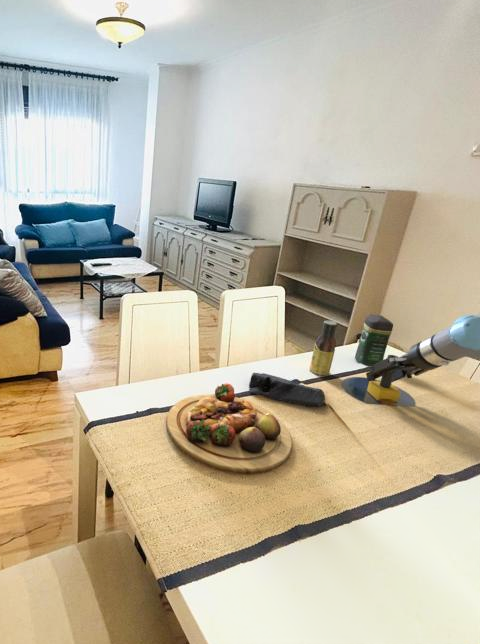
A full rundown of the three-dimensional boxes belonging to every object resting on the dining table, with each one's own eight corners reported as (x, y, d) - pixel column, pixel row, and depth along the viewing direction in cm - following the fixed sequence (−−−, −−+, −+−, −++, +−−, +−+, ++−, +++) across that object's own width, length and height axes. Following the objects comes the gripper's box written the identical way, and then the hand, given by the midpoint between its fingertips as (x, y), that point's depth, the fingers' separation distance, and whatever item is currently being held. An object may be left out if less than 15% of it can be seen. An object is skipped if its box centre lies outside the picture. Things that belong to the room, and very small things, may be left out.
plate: (389, 382, 131) (390, 378, 131) (430, 415, 112) (431, 412, 112) (329, 378, 132) (330, 375, 132) (359, 411, 113) (360, 407, 113)
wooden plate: (185, 390, 121) (188, 366, 118) (294, 419, 108) (300, 393, 106) (147, 449, 94) (149, 420, 91) (286, 496, 81) (294, 465, 78)
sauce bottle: (312, 369, 138) (324, 317, 131) (330, 375, 134) (344, 322, 127) (305, 374, 134) (317, 321, 127) (324, 381, 130) (337, 326, 123)
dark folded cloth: (322, 415, 110) (325, 401, 109) (244, 393, 120) (246, 380, 119) (325, 392, 123) (328, 379, 121) (254, 374, 133) (256, 361, 131)
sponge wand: (386, 391, 122) (397, 353, 117) (397, 401, 116) (410, 361, 112) (366, 390, 122) (377, 351, 118) (377, 400, 117) (389, 360, 112)
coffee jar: (383, 370, 139) (398, 322, 133) (359, 367, 141) (373, 320, 134) (374, 359, 148) (387, 314, 141) (351, 356, 150) (363, 311, 143)
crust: (390, 402, 117) (391, 399, 116) (396, 407, 114) (397, 405, 113) (379, 401, 117) (380, 398, 116) (385, 407, 114) (386, 404, 113)
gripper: (399, 364, 99) (350, 388, 120) (474, 368, 98) (412, 390, 119) (392, 337, 102) (346, 365, 123) (465, 341, 102) (406, 367, 123)
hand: (378, 377), depth 121 cm, fingers closed on sponge wand, 6 cm apart
